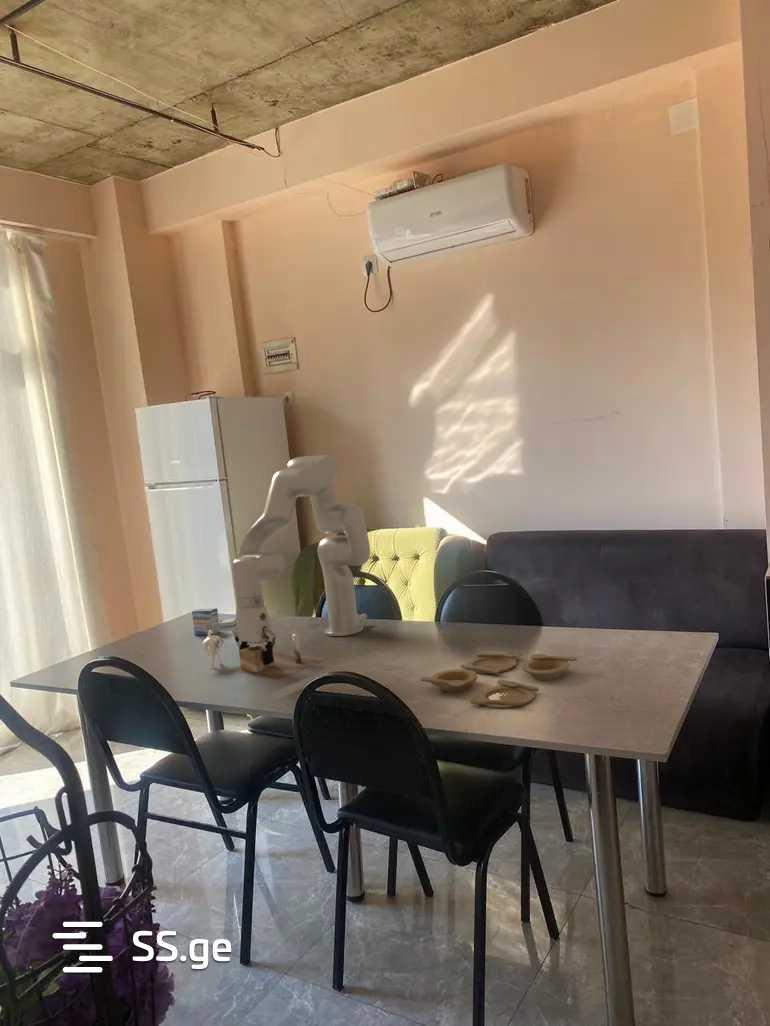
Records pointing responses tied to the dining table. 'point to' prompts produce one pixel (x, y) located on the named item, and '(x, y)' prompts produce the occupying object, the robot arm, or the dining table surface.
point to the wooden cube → (253, 659)
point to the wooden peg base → (285, 663)
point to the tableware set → (496, 663)
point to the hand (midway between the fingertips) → (256, 661)
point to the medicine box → (205, 621)
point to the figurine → (213, 647)
